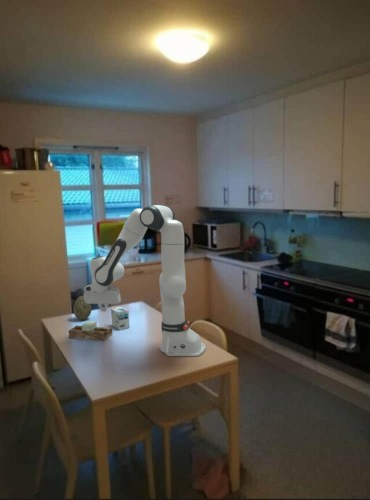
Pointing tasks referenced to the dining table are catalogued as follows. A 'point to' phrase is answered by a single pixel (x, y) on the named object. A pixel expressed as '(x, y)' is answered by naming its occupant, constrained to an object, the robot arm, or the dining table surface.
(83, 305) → the decorative egg
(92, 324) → the block
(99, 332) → the beam
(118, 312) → the light bulb box
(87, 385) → the dining table surface
